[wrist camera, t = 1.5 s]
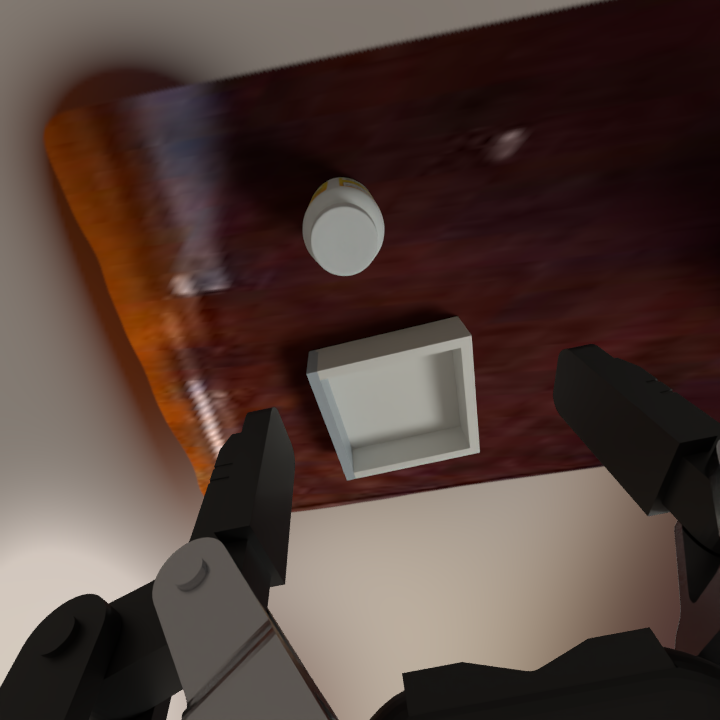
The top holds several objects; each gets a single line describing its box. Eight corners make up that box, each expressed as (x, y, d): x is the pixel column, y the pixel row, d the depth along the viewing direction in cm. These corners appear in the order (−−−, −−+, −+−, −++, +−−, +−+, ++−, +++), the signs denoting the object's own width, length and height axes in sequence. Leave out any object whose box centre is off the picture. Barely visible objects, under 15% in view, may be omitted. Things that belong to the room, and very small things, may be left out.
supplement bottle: (367, 169, 27) (382, 181, 19) (380, 239, 30) (398, 275, 22) (299, 186, 27) (285, 205, 19) (318, 253, 30) (313, 295, 22)
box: (457, 316, 34) (471, 335, 31) (467, 427, 42) (479, 452, 39) (308, 351, 35) (306, 374, 32) (346, 453, 43) (347, 480, 40)
